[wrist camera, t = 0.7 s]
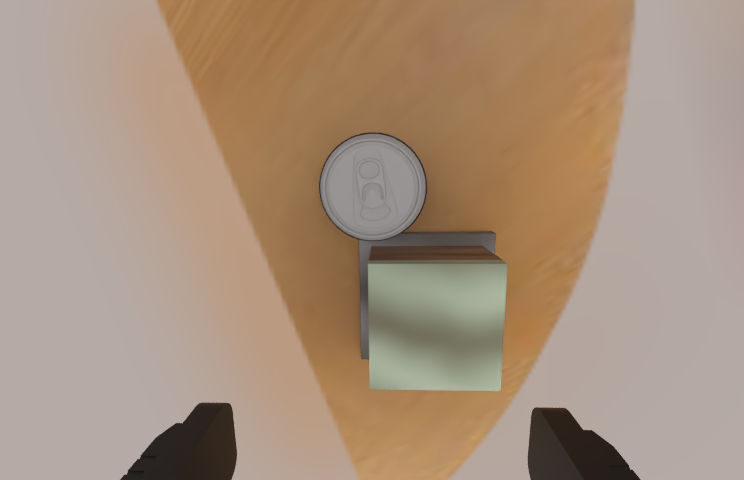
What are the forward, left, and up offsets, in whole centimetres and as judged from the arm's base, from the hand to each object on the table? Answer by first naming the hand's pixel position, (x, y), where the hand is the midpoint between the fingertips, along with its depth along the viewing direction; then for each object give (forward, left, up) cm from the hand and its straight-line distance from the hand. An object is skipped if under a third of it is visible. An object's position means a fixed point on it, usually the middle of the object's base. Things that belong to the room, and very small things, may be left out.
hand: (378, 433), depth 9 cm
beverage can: (-6, -1, -21) cm, 22 cm away
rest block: (+3, +3, -21) cm, 22 cm away
